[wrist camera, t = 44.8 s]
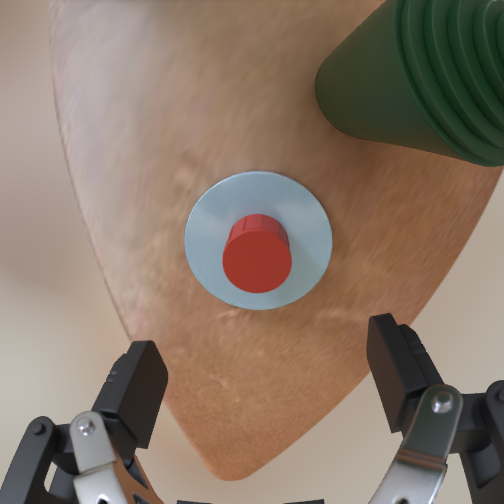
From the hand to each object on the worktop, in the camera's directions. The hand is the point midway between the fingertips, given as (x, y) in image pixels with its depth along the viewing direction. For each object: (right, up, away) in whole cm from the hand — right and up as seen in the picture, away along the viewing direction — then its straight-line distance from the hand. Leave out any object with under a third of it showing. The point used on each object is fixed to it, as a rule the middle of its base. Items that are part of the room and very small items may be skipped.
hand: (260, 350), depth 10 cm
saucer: (0, +4, +10) cm, 11 cm away
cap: (0, +4, +9) cm, 10 cm away
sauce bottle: (+7, +14, +6) cm, 16 cm away
